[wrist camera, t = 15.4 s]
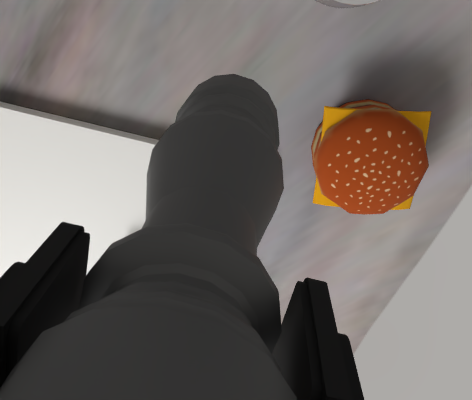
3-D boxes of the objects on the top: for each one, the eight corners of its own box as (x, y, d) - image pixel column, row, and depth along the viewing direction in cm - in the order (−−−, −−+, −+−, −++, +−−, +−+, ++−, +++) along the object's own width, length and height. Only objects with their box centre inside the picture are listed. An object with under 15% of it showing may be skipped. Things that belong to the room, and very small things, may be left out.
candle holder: (296, 103, 28) (448, 603, 5) (249, 183, 30) (208, 758, 8) (208, 55, 27) (-96, 399, 4) (166, 141, 29) (-165, 654, 7)
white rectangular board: (-5, 100, 41) (-14, 104, 40) (266, 166, 42) (266, 171, 41) (-5, 274, 49) (-14, 282, 48) (221, 325, 51) (219, 335, 49)
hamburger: (311, 97, 40) (320, 114, 33) (420, 98, 39) (449, 116, 33) (304, 193, 43) (311, 224, 37) (403, 196, 43) (426, 227, 37)
